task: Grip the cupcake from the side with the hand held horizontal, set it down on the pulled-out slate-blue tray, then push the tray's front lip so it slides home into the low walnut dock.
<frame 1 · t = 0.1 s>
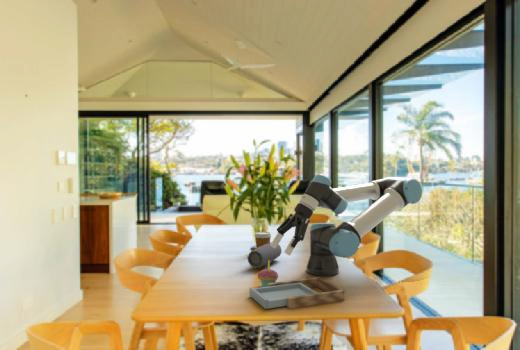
hand: (279, 250, 159), 15 cm above the table, tool tilted 35°, fingers open, 13 cm apart
dock: (310, 295, 149), on the table
cupcake: (267, 287, 160), on the table
tray: (283, 294, 145), point 2 cm above the table, slide at 8.0 cm
disposable coffee cup: (262, 254, 219), on the table
bluetooth speaker: (265, 265, 195), on the table
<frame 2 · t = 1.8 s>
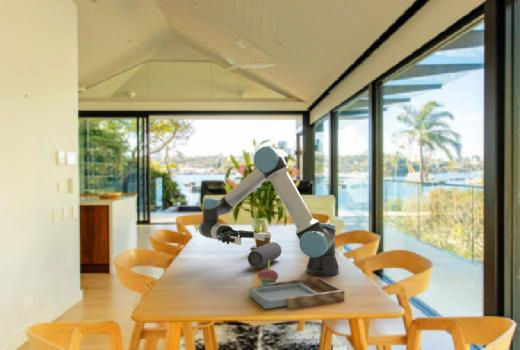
hand: (252, 239, 166), 18 cm above the table, tool horizontal, fingers open, 13 cm apart
nothing on the table moved.
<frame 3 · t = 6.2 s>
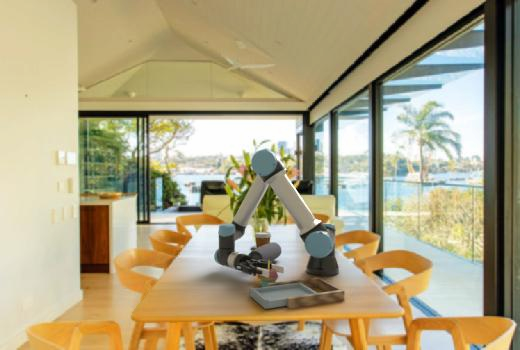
hand: (275, 272, 156), 7 cm above the table, tool horizontal, fingers closed on cupcake, 8 cm apart
cupcake: (267, 287, 160), on the table, touching gripper
everything else where it was.
when the fingers open (10 cm above the table, at t = 10.1 s): cupcake drops 2 cm, resting on tray.
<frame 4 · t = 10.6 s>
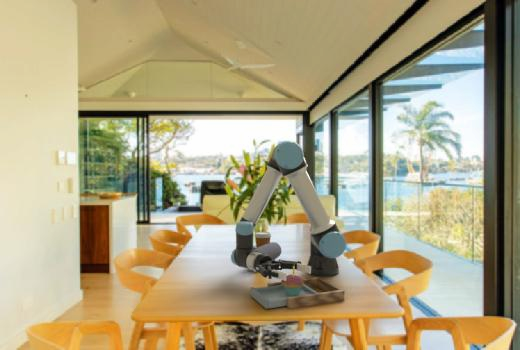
hand: (298, 273, 144), 10 cm above the table, tool horizontal, fingers open, 13 cm apart
cupcake: (292, 294, 146), point 1 cm above the table, touching tray
tray: (284, 293, 145), point 2 cm above the table, slide at 7.7 cm, touching cupcake
everything else where it was.
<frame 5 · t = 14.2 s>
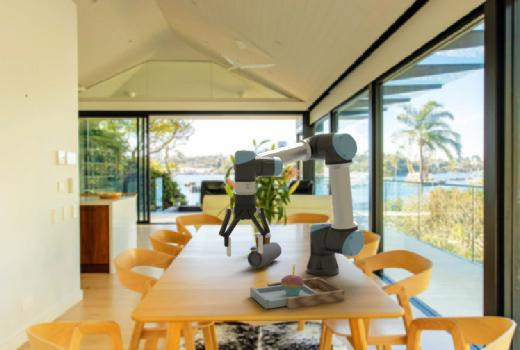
hand: (244, 254, 139), 18 cm above the table, tool pointing down, fingers open, 11 cm apart
nothing on the table moved.
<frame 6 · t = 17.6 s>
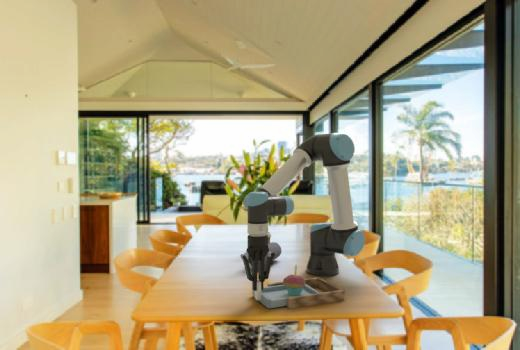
hand: (257, 298, 141), 1 cm above the table, tool pointing down, fingers closed
tray: (286, 293, 145), point 2 cm above the table, slide at 6.9 cm, touching cupcake, gripper
everything else where it was.
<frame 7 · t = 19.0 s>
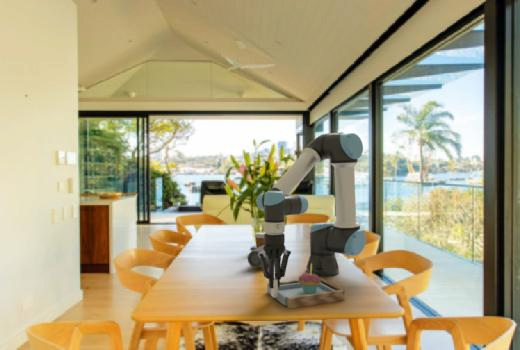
hand: (274, 296, 144), 2 cm above the table, tool pointing down, fingers closed
cupcake: (309, 292, 149), point 1 cm above the table, touching tray
tray: (301, 291, 148), point 2 cm above the table, slide at 0.4 cm, touching cupcake, gripper
everything else where it was.
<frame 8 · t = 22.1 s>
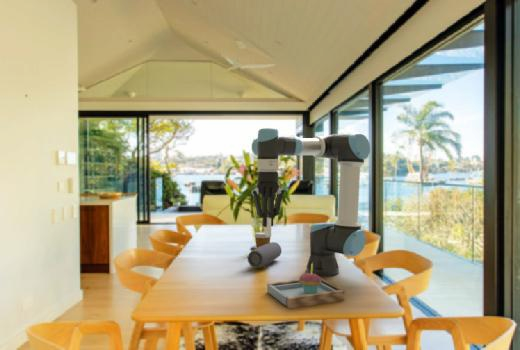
hand: (267, 235, 142), 24 cm above the table, tool pointing down, fingers closed
tray: (302, 291, 148), point 2 cm above the table, slide at 0.0 cm, touching cupcake
everything else where it was.
at the end: tray slide at 0.0 cm; cupcake 0.2 cm from the dock (horizontally); cupcake tilted 0° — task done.
